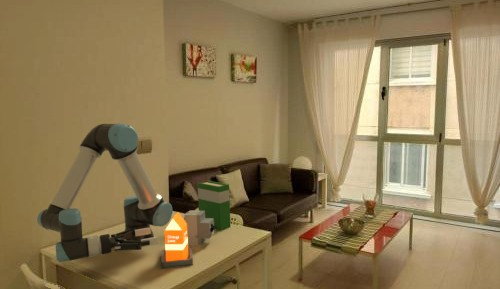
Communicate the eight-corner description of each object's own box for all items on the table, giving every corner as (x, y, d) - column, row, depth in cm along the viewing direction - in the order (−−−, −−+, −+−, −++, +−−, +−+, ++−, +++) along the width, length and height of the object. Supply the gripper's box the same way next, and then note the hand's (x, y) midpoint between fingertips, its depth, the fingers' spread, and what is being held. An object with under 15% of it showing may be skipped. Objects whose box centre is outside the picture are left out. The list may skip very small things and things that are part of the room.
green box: (199, 224, 208) (197, 182, 206) (209, 221, 214) (207, 180, 211) (220, 230, 197) (219, 186, 194) (230, 227, 202) (228, 184, 200)
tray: (162, 255, 166) (162, 250, 166) (191, 252, 168) (191, 247, 168) (161, 268, 152) (161, 262, 152) (192, 265, 155) (192, 259, 154)
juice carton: (165, 263, 155) (163, 218, 153) (171, 255, 164) (169, 211, 162) (184, 263, 155) (181, 217, 153) (188, 255, 164) (186, 211, 161)
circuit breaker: (213, 246, 175) (212, 215, 173) (185, 244, 178) (183, 214, 176) (217, 240, 182) (216, 211, 181) (190, 239, 185) (189, 210, 184)
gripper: (98, 244, 157) (148, 234, 166) (103, 265, 135) (161, 253, 144) (96, 227, 156) (147, 218, 165) (102, 246, 134) (160, 235, 143)
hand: (154, 235), depth 155 cm, fingers open, 13 cm apart
